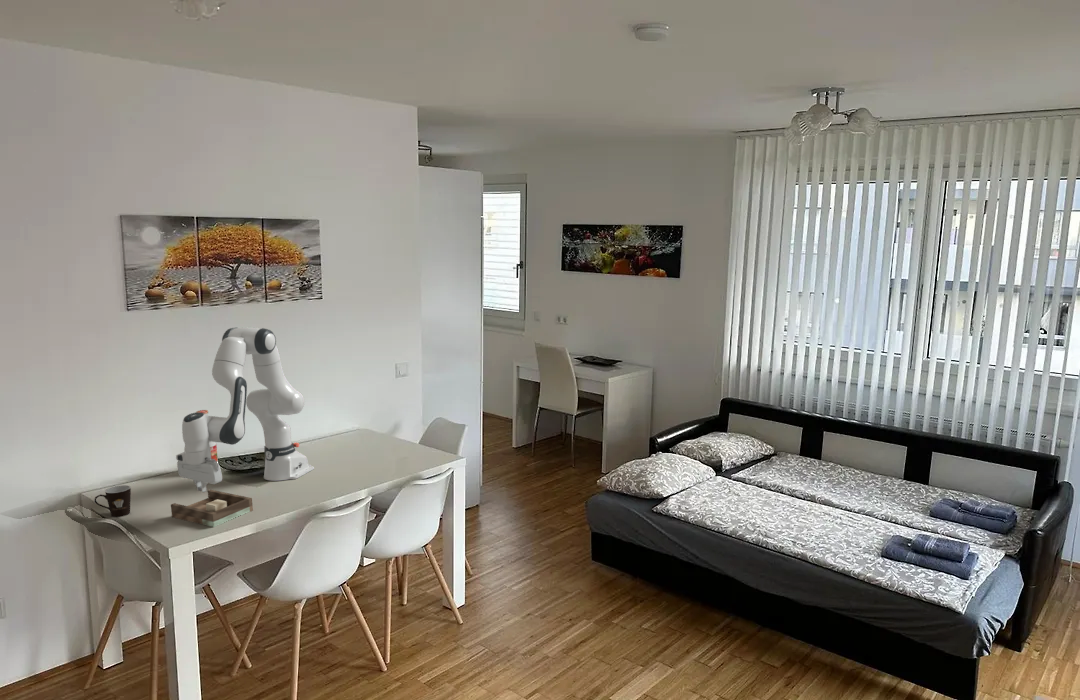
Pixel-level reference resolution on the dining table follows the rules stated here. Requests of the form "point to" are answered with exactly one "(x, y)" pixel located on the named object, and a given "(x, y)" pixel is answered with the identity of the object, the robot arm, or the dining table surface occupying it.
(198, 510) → the box
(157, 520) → the dining table surface
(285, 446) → the robot arm
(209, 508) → the birch block
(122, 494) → the coffee mug
